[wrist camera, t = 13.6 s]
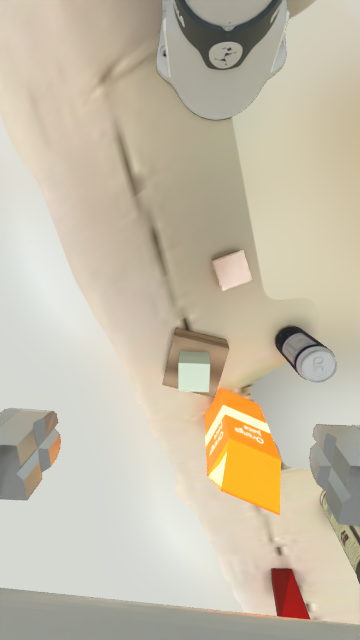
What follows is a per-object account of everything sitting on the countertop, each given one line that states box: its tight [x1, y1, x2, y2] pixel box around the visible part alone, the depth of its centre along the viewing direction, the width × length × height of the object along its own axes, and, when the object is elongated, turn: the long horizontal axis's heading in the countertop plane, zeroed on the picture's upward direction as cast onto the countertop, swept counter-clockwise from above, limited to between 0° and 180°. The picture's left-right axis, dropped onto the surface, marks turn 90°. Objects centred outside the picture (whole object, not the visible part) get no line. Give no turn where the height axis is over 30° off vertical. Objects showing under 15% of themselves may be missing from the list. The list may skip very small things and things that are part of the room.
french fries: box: [272, 569, 311, 620], centre depth 55 cm, size 9×8×15 cm
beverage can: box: [276, 327, 337, 383], centre depth 41 cm, size 6×6×12 cm
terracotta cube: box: [212, 250, 252, 291], centre depth 42 cm, size 5×5×5 cm
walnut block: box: [162, 328, 229, 397], centre depth 47 cm, size 10×10×5 cm
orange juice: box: [205, 388, 282, 515], centre depth 42 cm, size 8×9×20 cm
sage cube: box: [178, 351, 210, 392], centre depth 42 cm, size 5×5×5 cm
